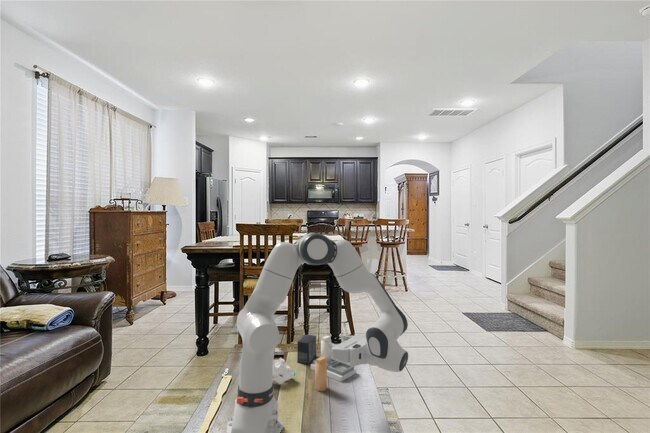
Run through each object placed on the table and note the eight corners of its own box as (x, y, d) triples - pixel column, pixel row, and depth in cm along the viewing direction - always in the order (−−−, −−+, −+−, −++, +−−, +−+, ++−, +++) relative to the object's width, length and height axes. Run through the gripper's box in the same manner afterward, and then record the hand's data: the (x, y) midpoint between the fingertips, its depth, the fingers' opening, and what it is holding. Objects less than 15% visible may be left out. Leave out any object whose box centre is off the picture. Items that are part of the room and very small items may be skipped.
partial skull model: (291, 381, 145) (275, 363, 146) (277, 395, 146) (261, 377, 147) (300, 369, 156) (285, 352, 158) (286, 381, 158) (272, 365, 159)
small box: (304, 354, 180) (304, 333, 180) (316, 356, 178) (316, 335, 178) (296, 362, 170) (296, 341, 170) (309, 364, 168) (309, 342, 168)
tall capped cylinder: (329, 388, 146) (329, 358, 146) (321, 392, 142) (321, 361, 142) (320, 384, 149) (320, 354, 149) (312, 388, 145) (313, 358, 145)
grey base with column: (356, 373, 160) (356, 341, 159) (340, 381, 151) (341, 348, 151) (326, 361, 171) (326, 331, 171) (310, 368, 163) (311, 337, 163)
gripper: (380, 334, 141) (352, 326, 150) (350, 350, 125) (320, 341, 134) (380, 349, 141) (352, 341, 150) (350, 368, 125) (320, 357, 134)
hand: (337, 341), depth 142 cm, fingers open, 8 cm apart
